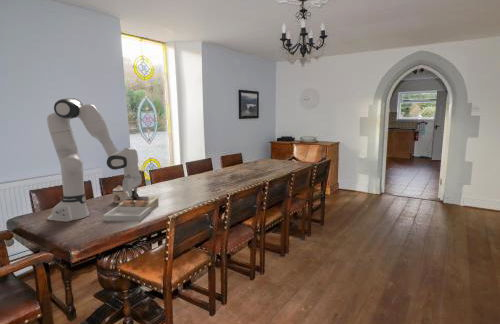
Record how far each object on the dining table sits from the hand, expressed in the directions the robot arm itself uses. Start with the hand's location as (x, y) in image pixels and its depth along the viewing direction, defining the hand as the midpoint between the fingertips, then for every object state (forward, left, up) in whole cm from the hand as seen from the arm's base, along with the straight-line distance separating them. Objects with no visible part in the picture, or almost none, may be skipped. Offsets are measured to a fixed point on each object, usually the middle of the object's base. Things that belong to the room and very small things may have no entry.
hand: (133, 194), depth 189 cm
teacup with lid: (-19, +22, -12) cm, 31 cm away
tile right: (+4, +1, -7) cm, 8 cm away
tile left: (-4, +1, -7) cm, 8 cm away
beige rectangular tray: (0, +8, -12) cm, 14 cm away
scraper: (0, +6, -5) cm, 8 cm away
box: (0, -9, -12) cm, 14 cm away
